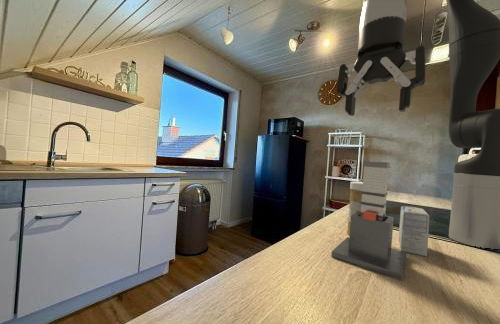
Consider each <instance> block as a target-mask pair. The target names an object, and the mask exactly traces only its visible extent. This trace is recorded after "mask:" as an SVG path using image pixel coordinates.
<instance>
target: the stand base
mask: <svg viewBox="0 0 500 324" xmlns="http://www.w3.org/2000/svg"><path fill="white" fill-rule="evenodd" d="M360 212H361V211H357V212H356V213H354V214H353V215H351V227H350V235H349V236H347V237H346V238H345V239H344V240H343V241H341V242H340V243H339V244H338V245H337V246H336V247H335V248H334V249H333V250H331V257H332V258H334V259H337V260H340V261H344V262H346V263H348V264H352V265H355V266H357V267H361V268H364V269H367V270H370V271H372V272H376V273H378V274H382V275H384V276H388V277H390V278H393V279H395V280H399V281H403V278H404V273H405V267H406V262H407V255H408V252H404V251H401V250H397V249H394V248H392V243H393V233H394V232H393V230H394V219H395V218H394V217H393V216H388V215H386V216H385V221H380V220H377V213H373V212H368V211H364V212H363V217H361V216H360Z"/></svg>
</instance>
